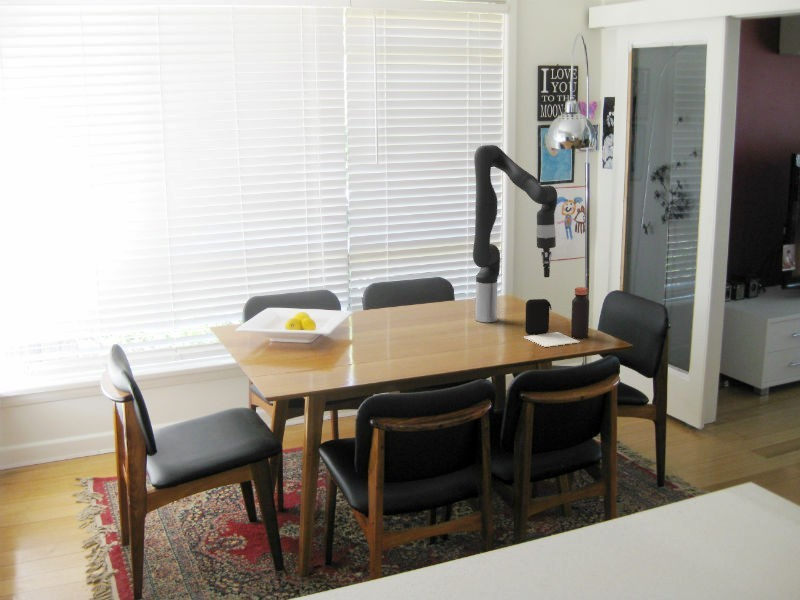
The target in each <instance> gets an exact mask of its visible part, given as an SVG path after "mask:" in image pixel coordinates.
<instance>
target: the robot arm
mask: <svg viewBox="0 0 800 600" xmlns="http://www.w3.org/2000/svg"><path fill="white" fill-rule="evenodd" d="M473 161H474V162H473V163H474V170H475V172H474V175H475V221H474V222H475V223H474V242H473V248H472V259H473V262H474V264H475V266H477V267H479V268H480V269H479V272H478V273H477V274H475V275H476V276H475V298H474V299H475V309H474V310H475V311H474V312H475V313H474V315H475V316H474V317H475V321H476V322H479V323H494V322H497V320H498V278H499V275H500V270H501V269H500V267H501V252H500V249H499V248H498V247H497V245H495V244H493V243H491V234H492V231H493V227H494V225H495V223H496V220H497V216H498V196H497V193H496V191H495V189H494V186H493V183H492V178H491V173H492V171H491V170H492V168H495V169H498V170H501V171H502V172H503V173H505V175H507V176H508V178H509V180H510V181H511V182H512V183H513V184H514V185H515V186H516V187H518V188H519V189H520V190H522V191H524V192H525V193H526V195H528V197H529V198H530V199H531V200H532V201H533V202H534V203H537V204H538V205H541V207H540V209H539V210H538V211H536V212H537V213H536V248H537V249H543V251H541V262H542V267H543V277H544V278H549V277H550V275H551V270H550V269H551V266H550V265H551V263H552V251H551V249H554V248H555V247H556V246H557V245H556V243H557V242H556V238H557V237H556V236H557V235H556V226H555V212H556V208H557V204H558V191H557V189H556V188H555V187H554V186H552V185H541V184H539V181H538V179H537V178H536V176H534V175H532V174H531V173H530V172H528V171H527V170H526V169H523V168H522V167H521V166H520V165H519V164H517V163H516V162H515V161H513V159H512V158H511V157H509V156H508V155H507V153H505V152H504V151H503V150H502V149H501V148H500V147H499V146H497V145H494V144H488V145H486V144H485V145H479V146H478V147H477V148H476V149H475V151H474V159H473Z"/></svg>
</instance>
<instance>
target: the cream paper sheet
mask: <svg viewBox="0 0 800 600" xmlns="http://www.w3.org/2000/svg"><path fill="white" fill-rule="evenodd" d="M523 338H524V339H525V340H527V339H528V340H527V341H529V340H530V341H529V342H531V341H532V343H534V342H535V343H534V344H536V343H537V344H536V345H538V344H539V345H538V346H540V345H541V346H540V347H542V346H544V347H549V348H551V347H550V346H556V347H559V346H558V345H563V346H566V345H565V344H570V345H573V344H572V343H577V344H580V343H581V341H580V340H578V339H576V338H573V337H570V336H568V335H565V334H564V333H561V332H558V331H555V332H554V331H553V332H547V333H546V334H538V335H524V336H523ZM579 342H580V343H579ZM544 347H543V348H544Z"/></svg>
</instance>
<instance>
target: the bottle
mask: <svg viewBox="0 0 800 600" xmlns="http://www.w3.org/2000/svg"><path fill="white" fill-rule="evenodd" d="M574 296H575V297H574V298H573V299H572V301H571V320H570V322H571V323H570V336H571V338H573V337H574V338H573V339H577V338H580V339H579V340H581V339H582V340H584V339H583V338H585V339H587V338H588V337H589V322H590V300H589V298H588V297H587V296H588V287H583V286H578V287H575V288H574Z"/></svg>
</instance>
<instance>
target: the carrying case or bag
mask: <svg viewBox="0 0 800 600" xmlns="http://www.w3.org/2000/svg"><path fill="white" fill-rule="evenodd" d="M550 311H552V305H551V303H550V301H549V300H548V299H546V298H536V299H534V298H532V299H528V300H527V301H526V302H525V327H524V328H525V329H524V330H525V334H527V335H528V336H531V335H535V334H538V335H539V334H546V333H549V329H550Z"/></svg>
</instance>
